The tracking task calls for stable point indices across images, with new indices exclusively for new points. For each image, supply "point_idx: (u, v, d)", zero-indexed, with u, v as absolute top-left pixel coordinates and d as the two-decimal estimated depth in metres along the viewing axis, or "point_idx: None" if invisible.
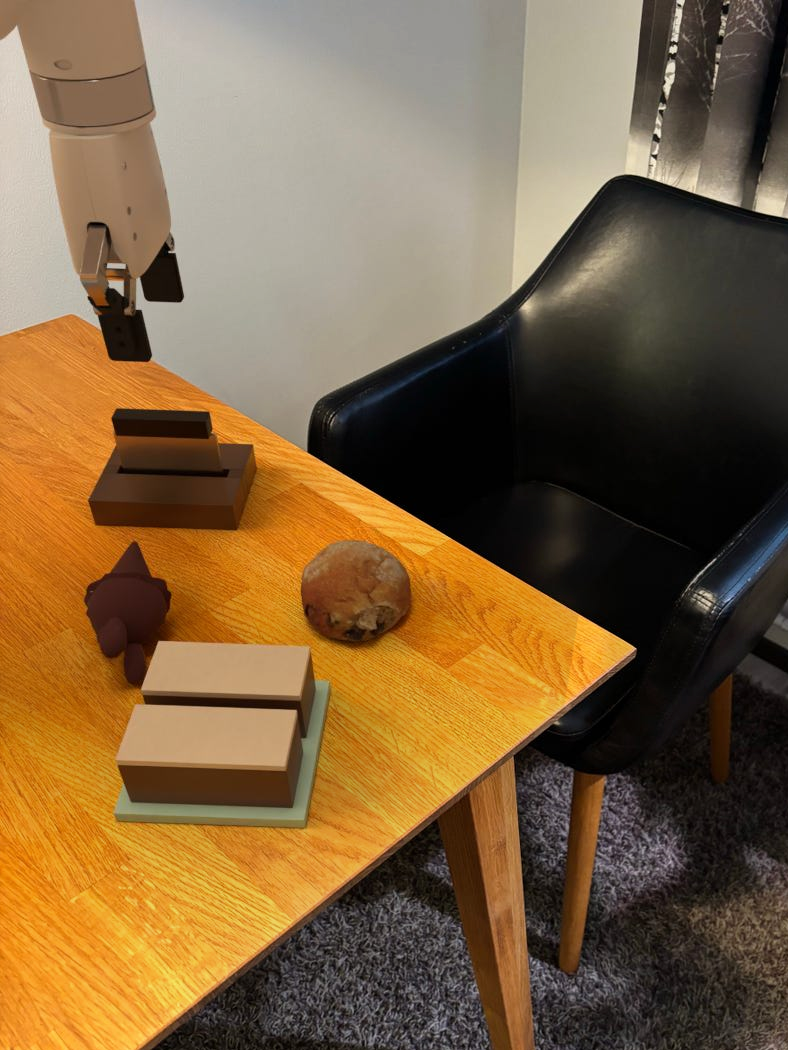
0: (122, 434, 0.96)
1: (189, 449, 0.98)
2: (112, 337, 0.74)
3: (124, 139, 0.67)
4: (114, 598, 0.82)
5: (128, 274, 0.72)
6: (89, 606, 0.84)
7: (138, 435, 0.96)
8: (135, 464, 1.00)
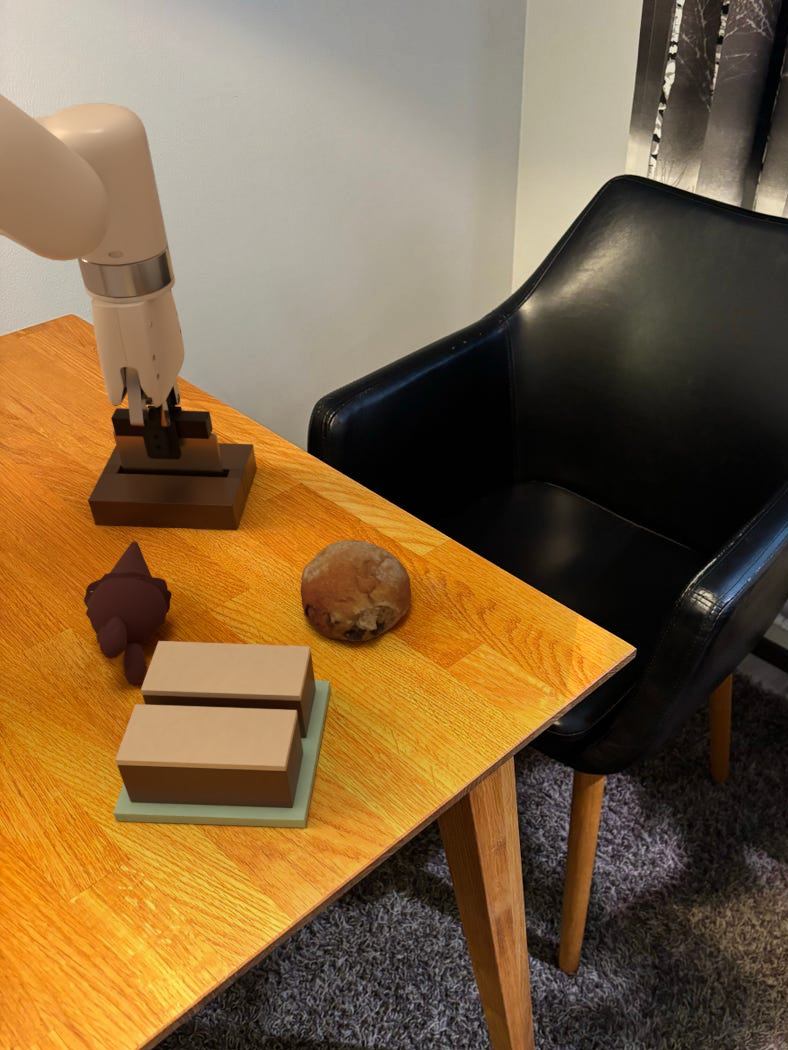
0: (122, 434, 0.96)
1: (189, 449, 0.98)
2: (151, 442, 0.95)
3: (150, 304, 0.85)
4: (114, 598, 0.82)
5: (152, 404, 0.90)
6: (89, 606, 0.84)
7: (138, 435, 0.96)
8: (135, 464, 1.00)
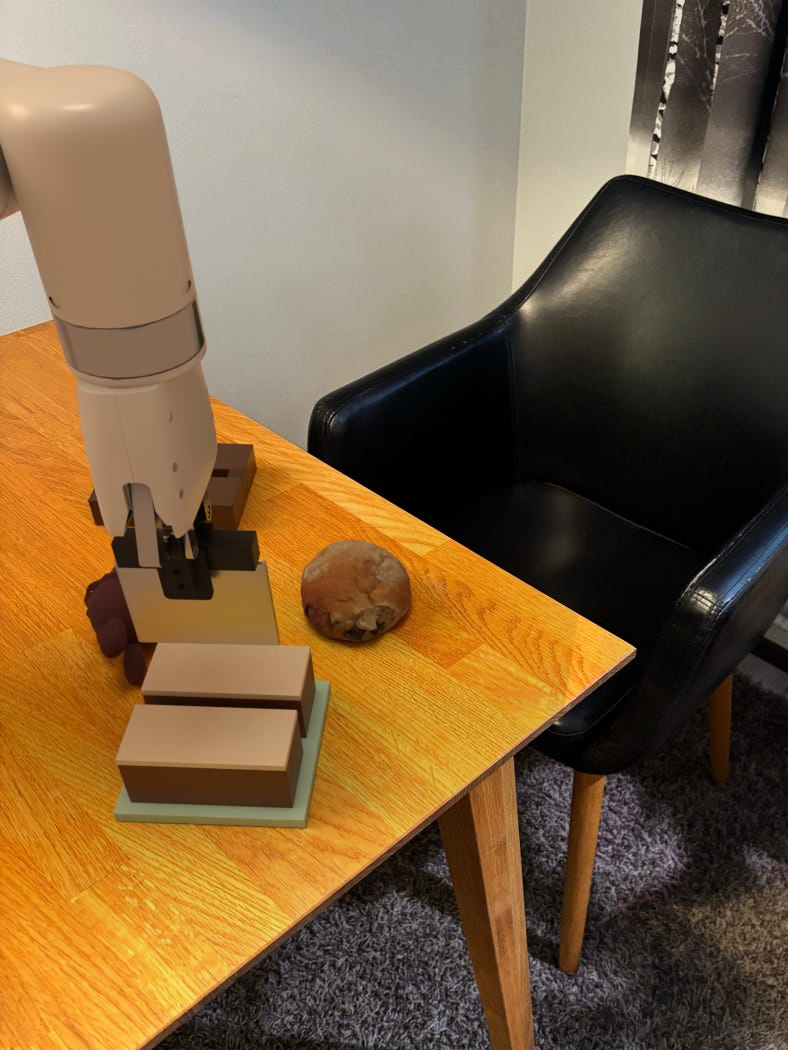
0: (127, 566, 0.65)
1: (225, 583, 0.67)
2: (170, 579, 0.64)
3: (170, 386, 0.54)
4: (114, 598, 0.82)
5: (172, 533, 0.59)
6: (89, 606, 0.84)
7: (151, 567, 0.65)
8: (147, 603, 0.68)
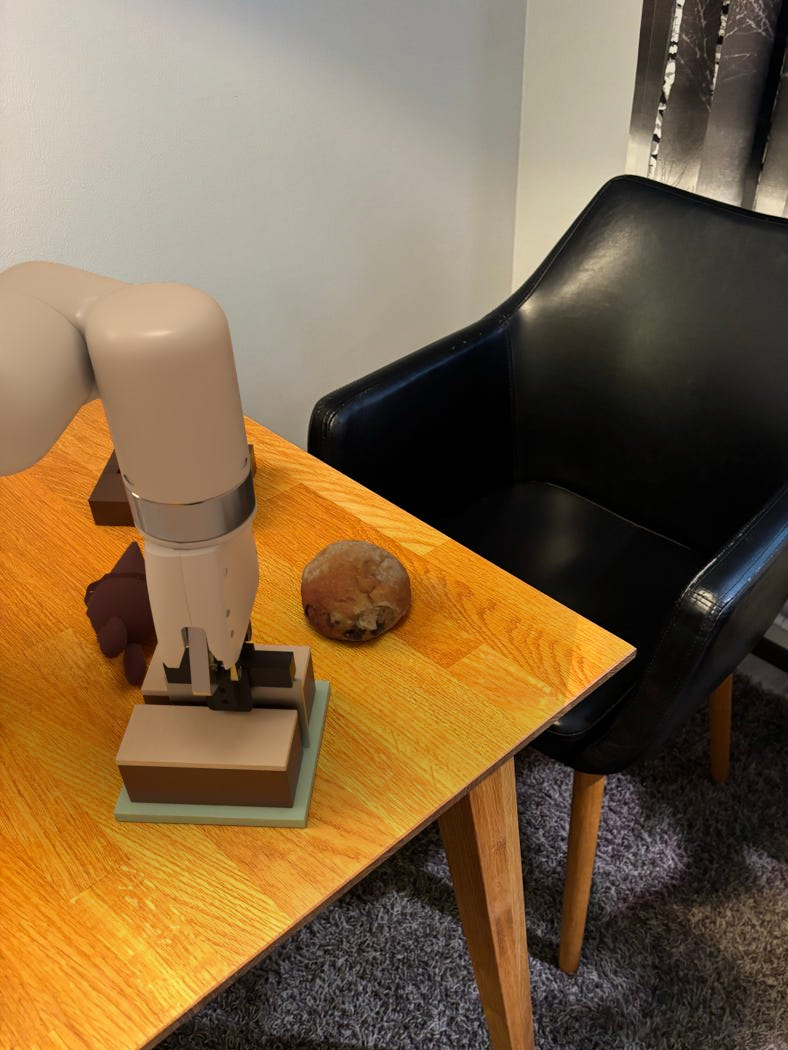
0: (176, 682, 0.72)
1: (263, 696, 0.74)
2: (215, 696, 0.71)
3: (226, 545, 0.61)
4: (114, 598, 0.82)
5: (222, 665, 0.65)
6: (89, 606, 0.84)
7: None
8: None
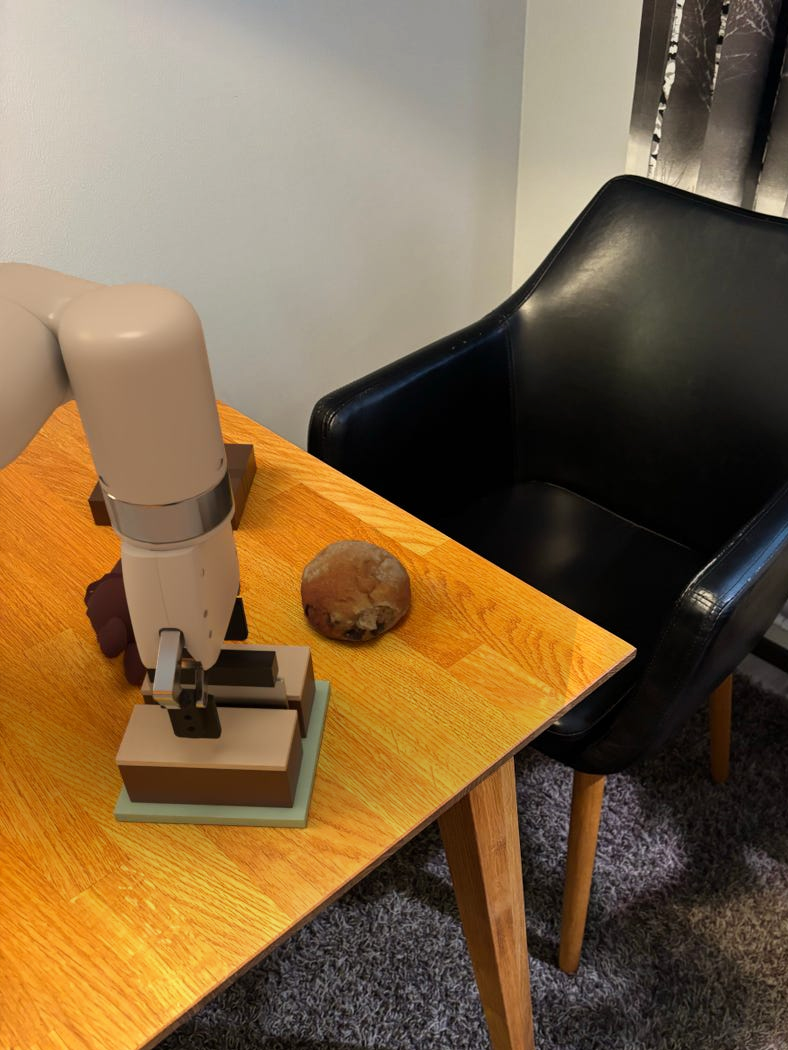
0: None
1: (246, 695, 0.74)
2: (181, 723, 0.68)
3: (203, 546, 0.61)
4: (114, 598, 0.82)
5: (200, 666, 0.66)
6: (89, 606, 0.84)
7: (180, 682, 0.72)
8: None
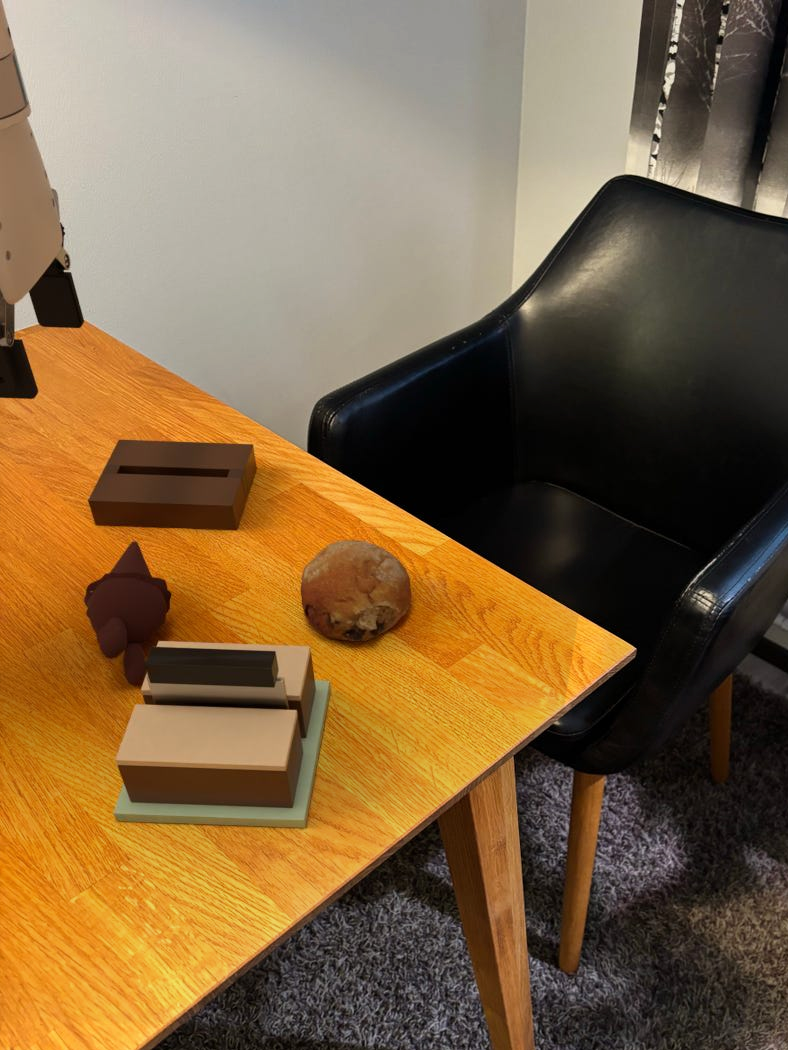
0: (159, 681, 0.72)
1: (246, 695, 0.74)
2: None
3: None
4: (114, 598, 0.82)
5: (3, 298, 0.62)
6: (89, 606, 0.84)
7: (180, 682, 0.72)
8: None
